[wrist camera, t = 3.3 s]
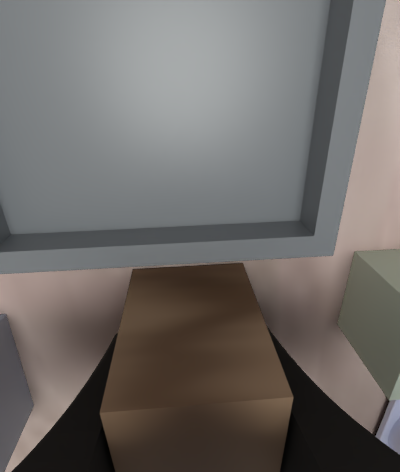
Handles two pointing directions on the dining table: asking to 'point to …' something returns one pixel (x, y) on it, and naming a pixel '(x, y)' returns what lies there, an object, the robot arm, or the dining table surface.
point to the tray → (177, 129)
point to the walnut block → (195, 376)
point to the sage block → (375, 315)
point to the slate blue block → (11, 394)
